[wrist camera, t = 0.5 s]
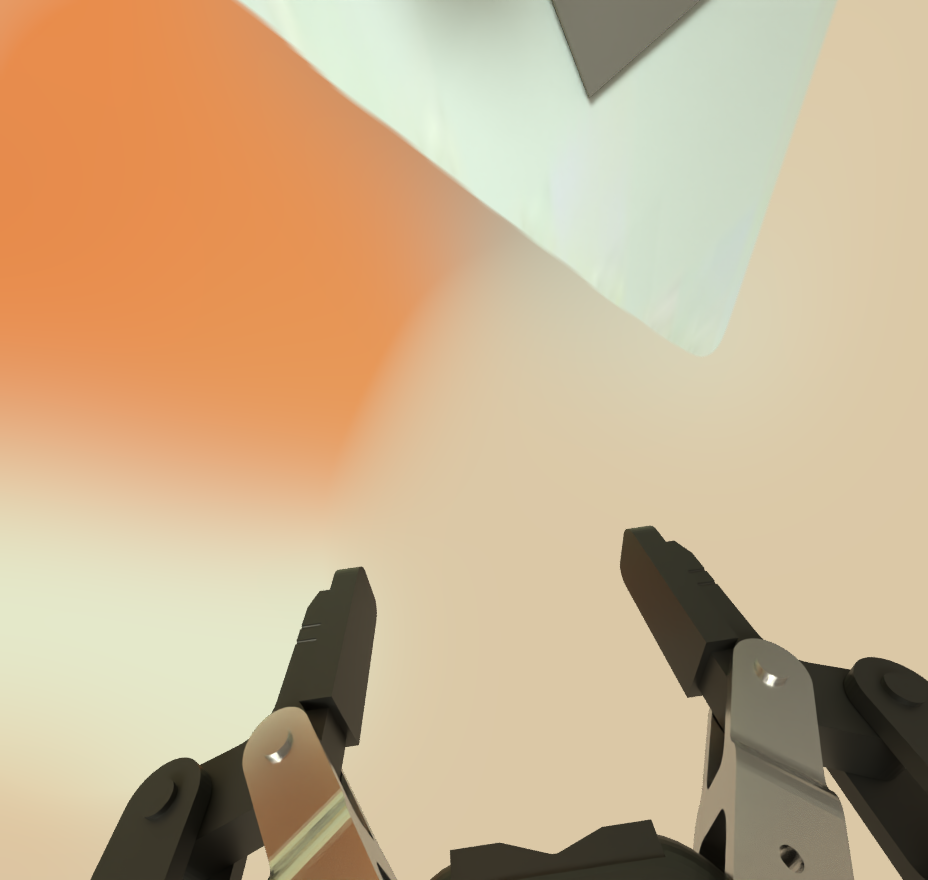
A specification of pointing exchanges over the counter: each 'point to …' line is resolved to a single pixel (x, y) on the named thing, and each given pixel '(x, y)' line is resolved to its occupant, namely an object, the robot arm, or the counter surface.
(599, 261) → the counter surface
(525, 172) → the counter surface
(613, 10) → the rubber mat
